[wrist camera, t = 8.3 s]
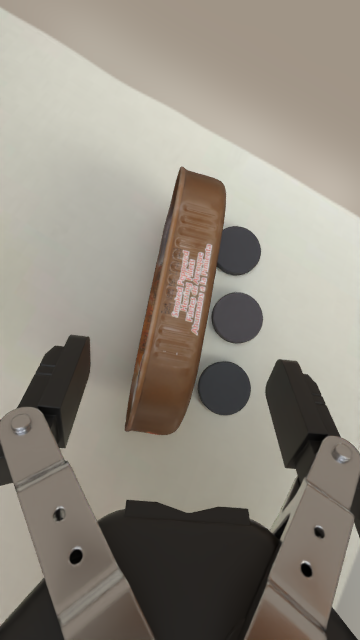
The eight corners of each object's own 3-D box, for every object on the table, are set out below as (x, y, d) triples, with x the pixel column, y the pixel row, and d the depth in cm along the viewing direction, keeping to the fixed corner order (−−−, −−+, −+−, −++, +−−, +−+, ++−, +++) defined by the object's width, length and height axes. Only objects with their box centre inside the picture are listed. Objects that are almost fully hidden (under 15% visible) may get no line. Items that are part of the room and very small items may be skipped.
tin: (167, 210, 23) (178, 125, 15) (208, 220, 24) (241, 141, 15) (124, 415, 21) (108, 448, 13) (170, 424, 21) (184, 461, 13)
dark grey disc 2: (261, 297, 23) (264, 295, 23) (258, 345, 23) (261, 345, 22) (214, 291, 23) (215, 289, 22) (209, 340, 22) (211, 339, 22)
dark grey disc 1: (259, 233, 24) (262, 229, 23) (256, 278, 23) (259, 276, 23) (213, 226, 24) (215, 222, 23) (209, 271, 23) (210, 269, 22)
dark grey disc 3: (250, 364, 22) (252, 364, 22) (246, 416, 22) (248, 417, 21) (200, 359, 22) (202, 358, 21) (195, 411, 21) (196, 412, 21)
